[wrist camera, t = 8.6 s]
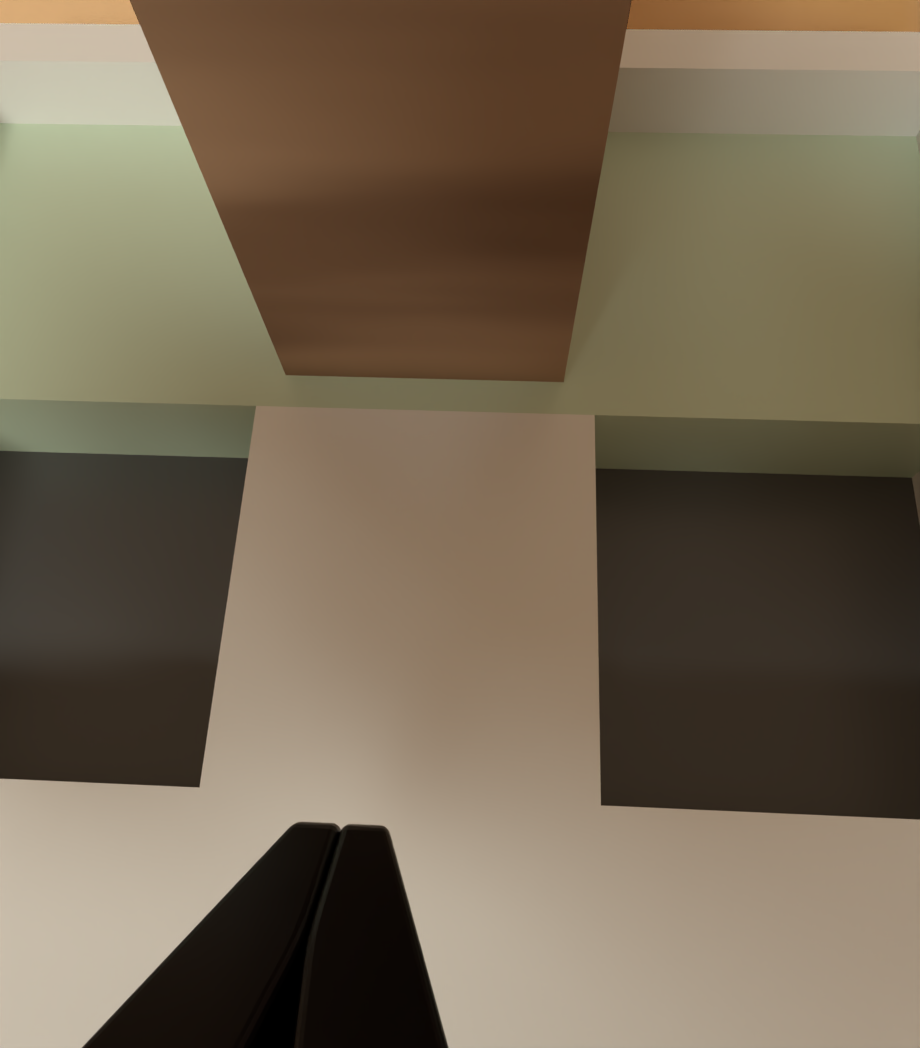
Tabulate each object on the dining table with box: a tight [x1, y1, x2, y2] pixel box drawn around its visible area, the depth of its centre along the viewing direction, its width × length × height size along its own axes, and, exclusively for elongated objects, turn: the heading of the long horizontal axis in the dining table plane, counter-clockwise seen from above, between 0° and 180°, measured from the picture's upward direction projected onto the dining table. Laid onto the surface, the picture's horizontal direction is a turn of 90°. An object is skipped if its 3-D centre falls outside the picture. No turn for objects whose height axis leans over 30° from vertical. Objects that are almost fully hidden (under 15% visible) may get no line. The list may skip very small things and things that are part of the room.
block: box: [130, 0, 631, 382], centre depth 11 cm, size 5×5×10 cm
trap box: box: [0, 23, 920, 1048], centre depth 14 cm, size 21×21×4 cm
